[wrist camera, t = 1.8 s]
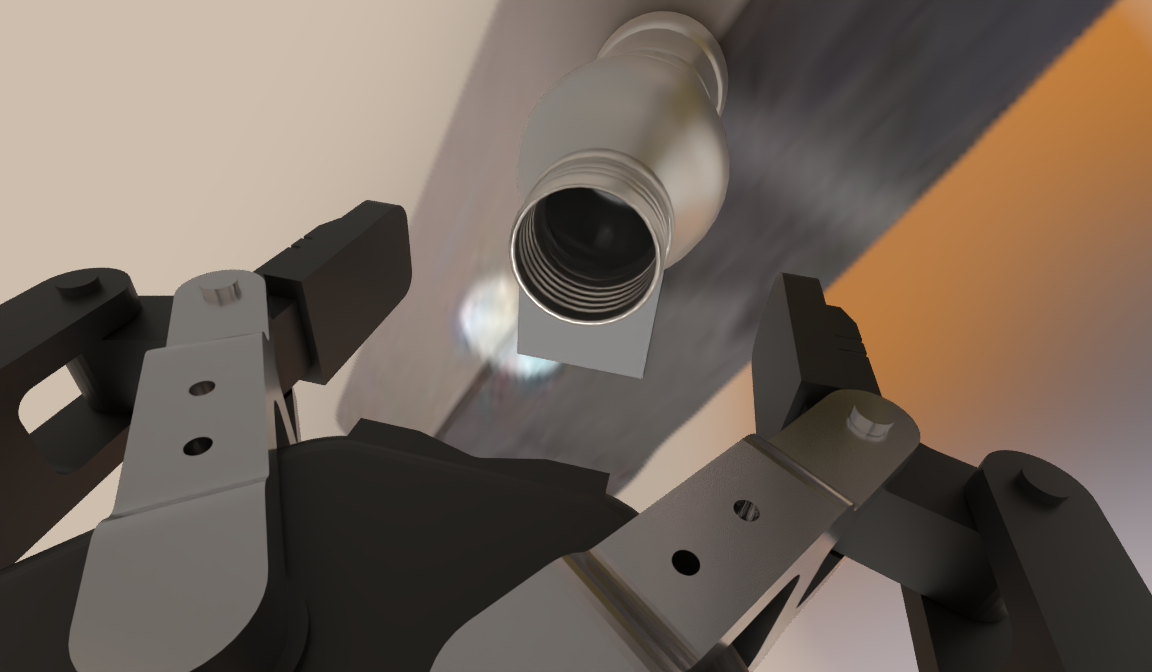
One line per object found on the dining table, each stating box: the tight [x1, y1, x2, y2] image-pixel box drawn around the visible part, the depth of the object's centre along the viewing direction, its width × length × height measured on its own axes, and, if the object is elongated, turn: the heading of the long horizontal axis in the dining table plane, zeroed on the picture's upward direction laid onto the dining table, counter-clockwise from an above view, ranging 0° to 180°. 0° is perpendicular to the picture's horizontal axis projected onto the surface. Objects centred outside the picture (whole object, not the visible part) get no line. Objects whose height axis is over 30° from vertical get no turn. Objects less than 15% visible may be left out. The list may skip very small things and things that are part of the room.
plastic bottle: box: [509, 11, 729, 327], centre depth 21 cm, size 6×7×20 cm
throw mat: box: [517, 270, 664, 379], centre depth 37 cm, size 12×9×1 cm
